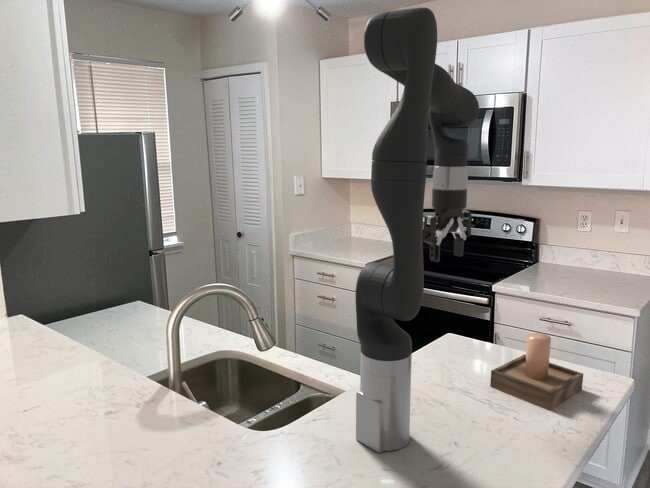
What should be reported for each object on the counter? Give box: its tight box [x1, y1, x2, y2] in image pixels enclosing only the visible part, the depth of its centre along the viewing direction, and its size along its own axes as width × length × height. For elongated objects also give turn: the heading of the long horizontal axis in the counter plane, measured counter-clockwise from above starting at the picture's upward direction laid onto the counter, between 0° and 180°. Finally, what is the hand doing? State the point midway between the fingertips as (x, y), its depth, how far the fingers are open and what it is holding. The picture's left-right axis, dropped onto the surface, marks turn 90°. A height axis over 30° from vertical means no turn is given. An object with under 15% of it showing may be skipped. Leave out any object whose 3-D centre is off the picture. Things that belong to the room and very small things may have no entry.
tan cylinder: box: [525, 332, 552, 380], centre depth 118 cm, size 5×5×9 cm
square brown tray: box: [489, 353, 584, 411], centre depth 118 cm, size 14×14×4 cm
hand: (446, 258), depth 121 cm, fingers open, 8 cm apart
